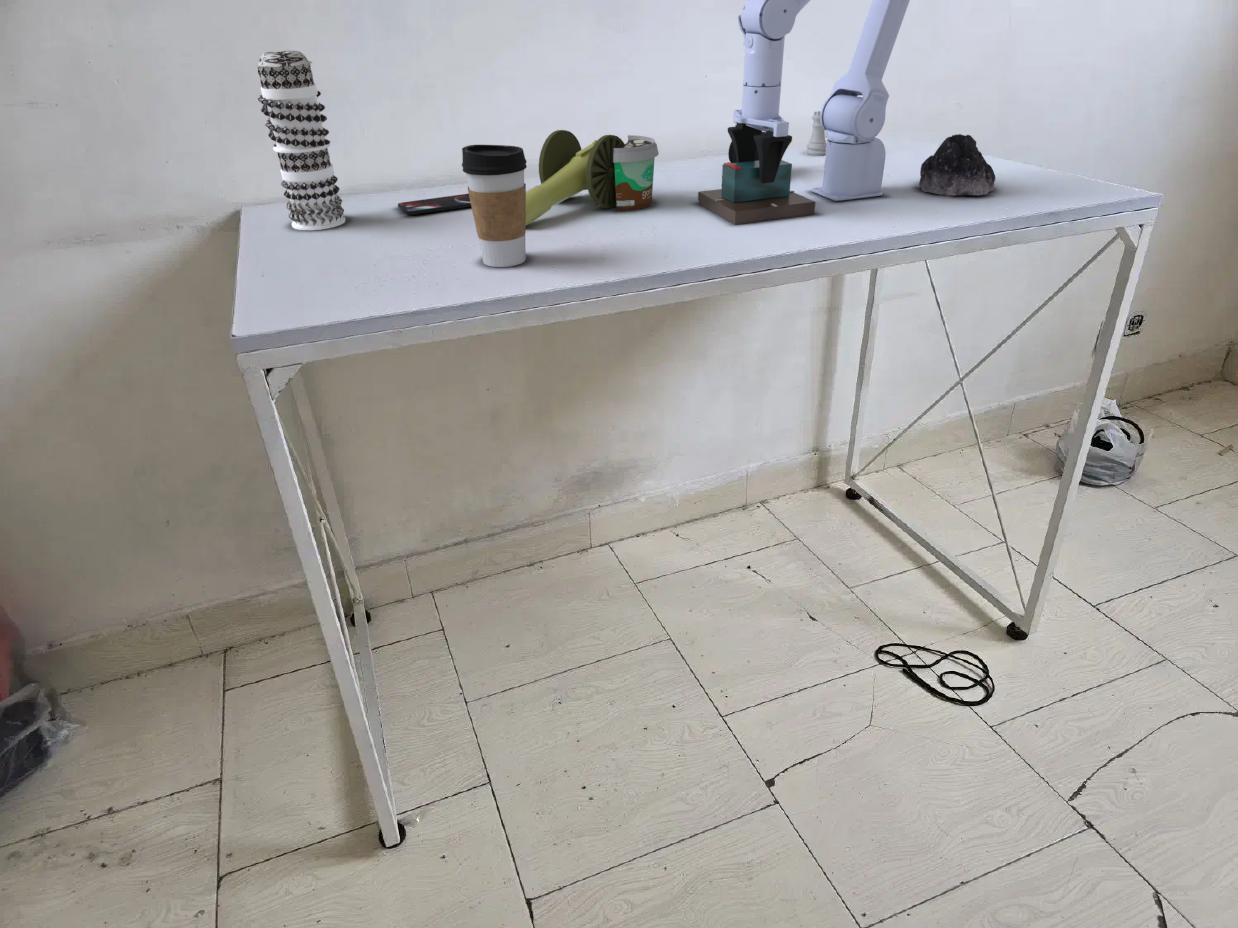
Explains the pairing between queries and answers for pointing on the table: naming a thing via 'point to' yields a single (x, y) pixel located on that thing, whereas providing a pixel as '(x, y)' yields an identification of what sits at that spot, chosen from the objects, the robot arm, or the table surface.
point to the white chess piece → (817, 137)
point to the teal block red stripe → (753, 182)
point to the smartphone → (435, 204)
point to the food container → (634, 172)
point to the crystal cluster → (957, 169)
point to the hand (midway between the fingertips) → (756, 177)
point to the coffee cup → (498, 201)
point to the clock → (756, 207)
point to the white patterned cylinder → (299, 140)
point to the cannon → (573, 172)
